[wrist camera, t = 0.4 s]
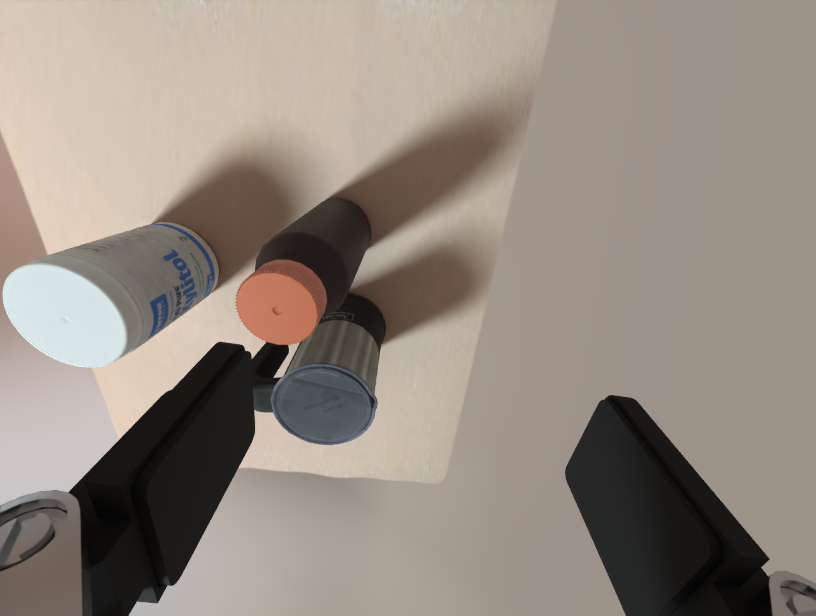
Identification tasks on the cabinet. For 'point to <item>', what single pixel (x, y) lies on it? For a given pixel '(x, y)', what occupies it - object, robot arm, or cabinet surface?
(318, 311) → the bottle
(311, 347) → the milk frother
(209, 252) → the supplement tub
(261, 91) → the cabinet surface
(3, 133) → the cabinet surface
